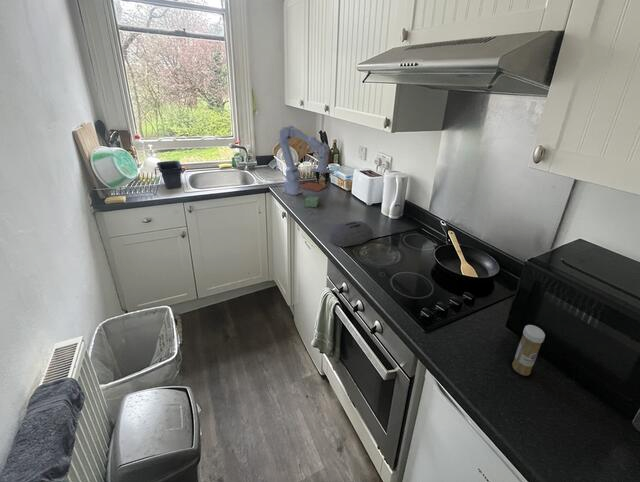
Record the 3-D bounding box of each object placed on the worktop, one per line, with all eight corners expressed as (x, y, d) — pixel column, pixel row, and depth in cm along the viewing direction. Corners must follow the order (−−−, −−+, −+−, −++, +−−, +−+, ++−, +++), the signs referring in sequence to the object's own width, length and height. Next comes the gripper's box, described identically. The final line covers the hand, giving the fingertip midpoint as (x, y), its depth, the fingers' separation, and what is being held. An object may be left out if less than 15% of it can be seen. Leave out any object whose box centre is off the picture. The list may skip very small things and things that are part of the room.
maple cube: (318, 185, 190) (318, 179, 189) (319, 183, 194) (319, 177, 192) (324, 186, 190) (324, 180, 188) (325, 184, 193) (325, 178, 192)
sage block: (304, 206, 180) (305, 200, 178) (307, 202, 186) (307, 196, 185) (316, 207, 179) (316, 201, 178) (318, 203, 186) (318, 197, 184)
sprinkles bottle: (523, 378, 78) (537, 339, 73) (507, 364, 82) (520, 326, 77) (534, 372, 80) (549, 334, 75) (519, 359, 84) (532, 322, 79)
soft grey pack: (357, 229, 154) (324, 238, 144) (359, 214, 151) (324, 222, 141) (376, 242, 143) (340, 252, 132) (377, 226, 140) (341, 235, 129)
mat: (298, 187, 212) (298, 186, 212) (308, 182, 224) (308, 181, 224) (317, 191, 206) (317, 191, 206) (327, 186, 218) (327, 185, 218)
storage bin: (186, 188, 198) (183, 167, 193) (159, 191, 190) (155, 170, 185) (181, 179, 214) (178, 160, 209) (156, 182, 206) (152, 162, 201)
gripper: (310, 163, 183) (309, 184, 188) (333, 165, 182) (332, 186, 187) (312, 161, 190) (312, 181, 195) (334, 162, 189) (333, 183, 194)
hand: (322, 183), depth 192 cm, fingers closed on maple cube, 4 cm apart
